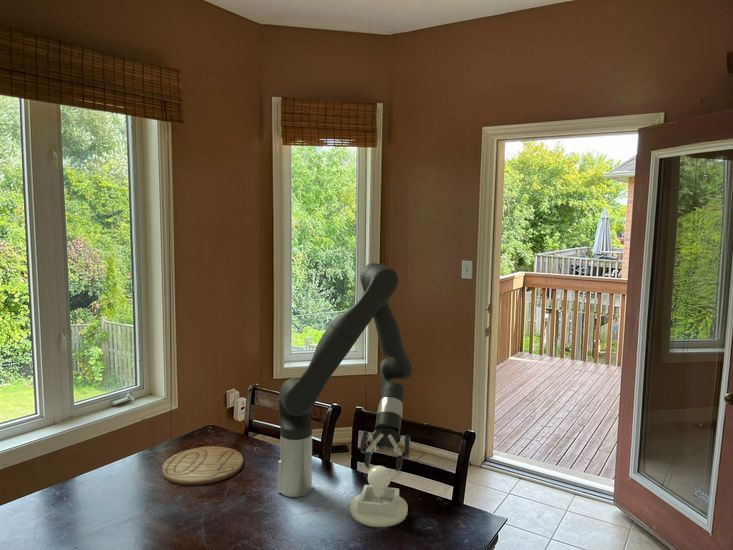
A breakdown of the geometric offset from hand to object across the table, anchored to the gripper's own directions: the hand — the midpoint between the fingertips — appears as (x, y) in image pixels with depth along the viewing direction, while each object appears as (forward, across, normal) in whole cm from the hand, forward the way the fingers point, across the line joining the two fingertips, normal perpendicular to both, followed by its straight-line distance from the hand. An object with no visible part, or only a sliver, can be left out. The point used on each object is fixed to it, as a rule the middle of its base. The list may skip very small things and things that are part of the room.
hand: (382, 468), depth 149 cm
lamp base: (+10, 0, +4) cm, 11 cm away
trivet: (+1, -60, +14) cm, 62 cm away
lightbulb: (+9, 0, +3) cm, 10 cm away
